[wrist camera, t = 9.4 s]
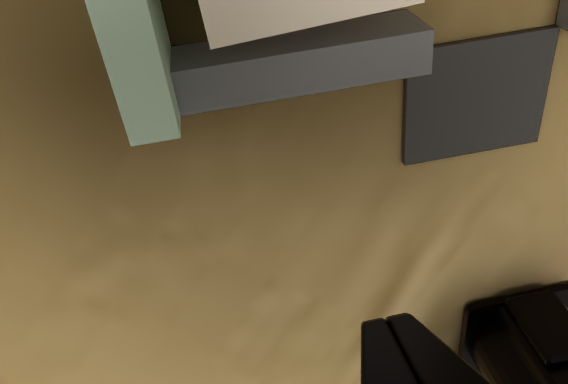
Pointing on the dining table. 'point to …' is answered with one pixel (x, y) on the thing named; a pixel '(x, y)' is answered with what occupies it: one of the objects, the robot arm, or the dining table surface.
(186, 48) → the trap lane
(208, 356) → the dining table surface
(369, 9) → the block
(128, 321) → the dining table surface
